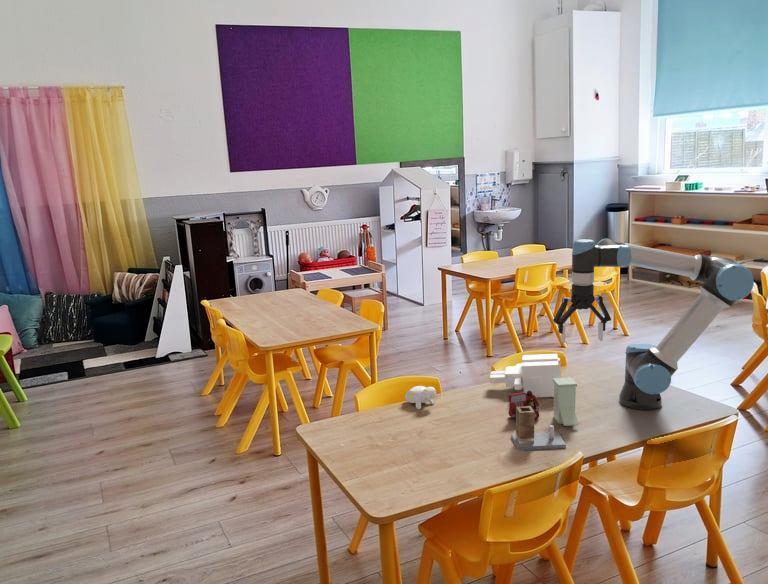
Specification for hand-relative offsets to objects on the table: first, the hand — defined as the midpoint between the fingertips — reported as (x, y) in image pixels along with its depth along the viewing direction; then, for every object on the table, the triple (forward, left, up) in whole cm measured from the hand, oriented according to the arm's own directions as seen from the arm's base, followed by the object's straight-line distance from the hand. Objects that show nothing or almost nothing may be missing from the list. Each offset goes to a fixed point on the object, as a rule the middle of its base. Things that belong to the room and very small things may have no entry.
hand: (581, 340), depth 234 cm
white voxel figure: (+14, -26, -29) cm, 41 cm away
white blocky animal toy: (+57, -17, -29) cm, 66 cm away
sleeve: (+25, +21, -27) cm, 43 cm away
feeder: (+7, +6, -29) cm, 30 cm away
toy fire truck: (+21, +1, -29) cm, 36 cm away
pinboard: (+21, +21, -29) cm, 41 cm away
